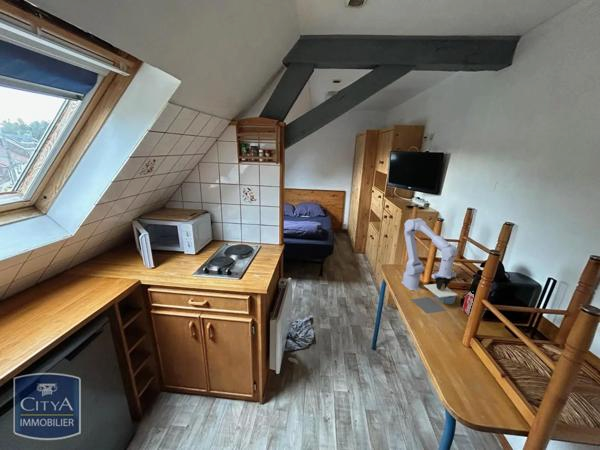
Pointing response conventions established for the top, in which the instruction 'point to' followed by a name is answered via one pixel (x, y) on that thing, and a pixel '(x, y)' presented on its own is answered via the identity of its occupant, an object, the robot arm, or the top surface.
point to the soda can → (468, 303)
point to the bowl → (446, 299)
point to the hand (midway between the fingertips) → (440, 288)
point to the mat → (428, 305)
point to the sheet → (439, 293)
